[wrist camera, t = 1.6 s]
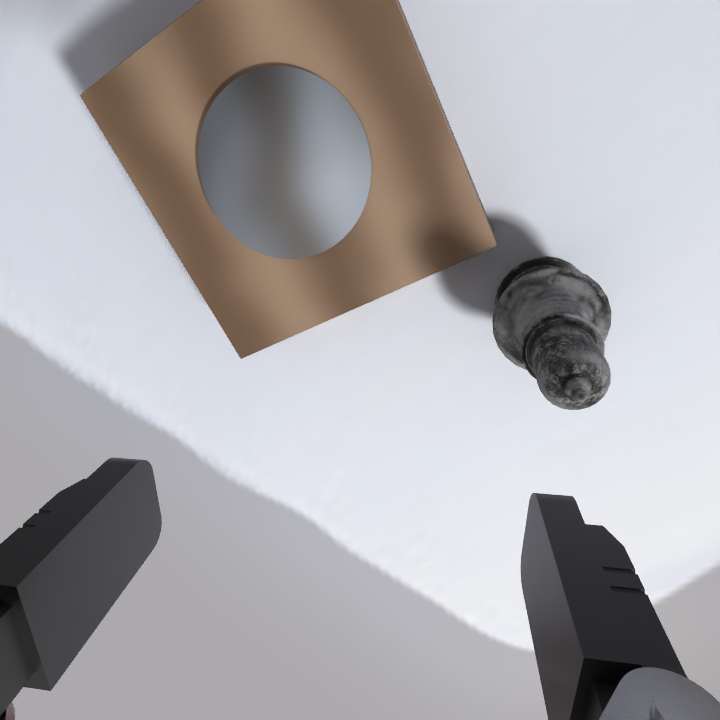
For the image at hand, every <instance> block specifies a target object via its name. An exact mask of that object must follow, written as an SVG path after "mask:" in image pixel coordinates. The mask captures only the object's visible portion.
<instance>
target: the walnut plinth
mask: <svg viewBox="0 0 720 720" xmlns="http://www.w3.org/2000/svg"><path fill="white" fill-rule="evenodd" d="M80 96H81V98H82V100H83V101H84V103H85V104H86V106H87V108H88V109H89V111H90V113H91V114H92V116H93V118H94V119H95V121H96V122H97V124H98V126H99V127H100V129H101V131H102V132H103V134H104V136H105V137H106V139H107V140H108V142H109V144H110V145H111V147H112V149H113V150H114V152H115V154H116V155H117V157H118V158H119V160H120V162H121V163H122V165H123V167H124V168H125V170H126V172H127V173H128V175H129V176H130V178H131V180H132V181H133V183H134V185H135V186H136V188H137V190H138V191H139V193H140V194H141V196H142V198H143V199H144V201H145V203H146V204H147V206H148V208H149V209H150V211H151V212H152V214H153V216H154V217H155V219H156V221H157V222H158V224H159V226H160V227H161V229H162V230H163V232H164V234H165V235H166V237H167V239H168V240H169V242H170V244H171V245H172V247H173V248H174V250H175V252H176V253H177V255H178V257H179V258H180V260H181V262H182V263H183V265H184V266H185V268H186V270H187V271H188V273H189V275H190V276H191V278H192V280H193V281H194V283H195V284H196V286H197V288H198V289H199V291H200V293H201V294H202V296H203V298H204V299H205V301H206V302H207V304H208V306H209V307H210V309H211V311H212V312H213V314H214V316H215V317H216V319H217V320H218V322H219V324H220V325H221V327H222V329H223V330H224V332H225V334H226V335H227V337H228V338H229V340H230V342H231V343H232V345H233V347H234V348H235V350H236V352H237V353H238V355H239V356H240V358H241V359H242V358H244V357H246V356H249V355H251V354H253V353H255V352H258V351H260V350H262V349H264V348H267V347H269V346H271V345H273V344H276V343H278V342H280V341H283V340H285V339H287V338H289V337H292V336H294V335H296V334H298V333H301V332H303V331H305V330H307V329H310V328H312V327H314V326H316V325H319V324H321V323H323V322H326V321H328V320H330V319H332V318H335V317H337V316H339V315H341V314H344V313H346V312H348V311H350V310H353V309H355V308H357V307H359V306H362V305H364V304H366V303H369V302H371V301H373V300H375V299H378V298H380V297H382V296H384V295H387V294H389V293H391V292H393V291H396V290H398V289H400V288H402V287H405V286H407V285H409V284H412V283H414V282H416V281H418V280H421V279H423V278H425V277H427V276H430V275H432V274H434V273H436V272H439V271H441V270H443V269H445V268H448V267H450V266H452V265H455V264H457V263H459V262H461V261H464V260H466V259H468V258H470V257H473V256H475V255H477V254H479V253H482V252H484V251H486V250H489V249H491V248H493V247H495V246H497V245H496V241H495V237H494V232H493V229H492V227H491V225H490V222H489V220H488V217H487V215H486V212H485V210H484V208H483V205H482V203H481V200H480V198H479V195H478V193H477V190H476V188H475V186H474V183H473V181H472V178H471V176H470V173H469V171H468V168H467V166H466V164H465V161H464V159H463V156H462V154H461V151H460V149H459V147H458V144H457V142H456V139H455V137H454V134H453V132H452V129H451V127H450V125H449V122H448V120H447V117H446V115H445V112H444V110H443V108H442V105H441V103H440V100H439V98H438V95H437V93H436V90H435V88H434V86H433V83H432V81H431V78H430V76H429V73H428V71H427V68H426V66H425V64H424V61H423V59H422V56H421V54H420V51H419V49H418V47H417V44H416V42H415V39H414V37H413V34H412V32H411V29H410V27H409V25H408V22H407V20H406V17H405V15H404V12H403V10H402V7H401V5H400V3H399V0H201V1H200V2H199V3H198V4H196V5H195V6H194V7H192V8H191V9H190V10H189V11H187V12H186V13H185V14H184V15H182V16H181V17H180V18H178V19H177V20H176V21H175V22H173V23H172V24H171V25H169V26H168V27H167V28H166V29H164V30H163V31H162V32H160V33H159V34H158V35H157V36H155V37H154V38H153V39H151V40H150V41H149V42H148V43H146V44H145V45H144V46H142V47H141V48H140V49H139V50H137V51H136V52H135V53H133V54H132V55H131V56H130V57H128V58H127V59H126V60H124V61H123V62H122V63H121V64H119V65H118V66H117V67H115V68H114V69H113V70H112V71H110V72H109V73H108V74H106V75H105V76H104V77H103V78H101V79H100V80H99V81H97V82H96V83H95V84H94V85H92V86H91V87H90V88H88V89H87V90H86V91H85V92H83V93H82V94H81V95H80Z"/></svg>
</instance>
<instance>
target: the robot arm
mask: <svg viewBox="0 0 720 720" xmlns="http://www.w3.org/2000/svg"><path fill="white" fill-rule="evenodd" d="M161 523H162V521H161V513H160V507H159V502H158V497H157V491H156V485H155V480H154V475H153V470H152V466H151V464H150V463H149V462H148V461H146V460H136V459H123V458H110V459H108V460H107V461H106V462H104V463H103V464H102V465H101V466H100V467H99V468H98V469H97V470H96V471H95V472H94V473H92V474H91V475H90V476H89V477H88V478H87V479H83V480H81V481H79V482H77V483H75V484H73V485H72V486H70V487H68V488H66V489H64V490H62V491H61V492H59V493H58V494H56V495H55V496H54V497H53V498H52V499H51V500H50V501H49V502H47V503H46V504H45V505H44V506H43V507H42V508H41V509H40V510H39V513H35V514H34V515H33V516H32V517H31V518H30V519H28V520H27V521H26V522H25V523H24V524H23V527H22V528H18V529H17V530H16V531H15V532H14V533H13V534H11V535H10V536H9V537H8V538H7V539H6V540H5V541H3V542H2V543H1V544H0V720H15V709H14V706H13V703H12V701H13V699H14V698H15V697H16V695H17V694H18V693H19V692H20V690H21V689H22V688H23V687H28V688H35V689H42V690H48V691H51V690H52V688H53V687H54V686H55V684H56V683H57V682H58V680H59V679H60V678H61V676H62V675H63V673H64V672H65V671H66V669H67V668H68V666H69V665H70V664H71V662H72V661H73V660H74V658H75V657H76V655H77V654H78V652H79V651H80V650H81V648H82V647H83V646H84V644H85V643H86V641H87V640H88V639H89V637H90V636H91V635H92V633H93V632H94V630H95V629H96V628H97V626H98V625H99V623H100V622H101V621H102V619H103V618H104V617H105V615H106V614H107V612H108V611H109V610H110V608H111V607H112V605H113V604H114V603H115V601H116V600H117V599H118V597H119V596H120V594H121V593H122V591H123V590H124V589H125V588H126V586H127V585H128V583H129V582H130V581H131V579H132V578H133V577H134V575H135V574H136V572H137V571H138V569H139V568H140V567H141V565H142V564H143V563H144V561H145V560H146V558H147V557H148V556H149V554H150V553H151V552H152V550H153V549H154V547H155V545H156V544H157V541H158V539H159V535H160V532H161ZM521 582H522V589H523V594H524V599H525V604H526V609H527V614H528V619H529V624H530V629H531V634H532V639H533V644H534V649H535V654H536V659H537V665H538V670H539V674H540V680H541V684H542V690H543V694H544V700H545V705H546V710H547V715H548V720H720V703H719V702H718V701H717V700H716V699H715V698H714V697H713V696H712V695H711V694H710V693H708V692H707V691H706V690H705V689H703V688H702V687H701V686H699V685H698V684H696V683H695V682H693V681H691V680H689V679H688V678H687V676H686V674H685V672H684V670H683V668H682V666H681V664H680V662H679V660H678V658H677V656H676V654H675V652H674V650H673V648H672V645H671V643H670V641H669V639H668V637H667V635H666V633H665V631H664V629H663V627H662V625H661V622H660V620H659V618H658V616H657V614H656V612H655V610H654V608H653V606H652V604H651V602H650V600H649V597H648V595H645V589H644V587H643V585H642V583H641V581H640V579H639V577H638V575H637V574H635V568H634V566H633V564H632V562H631V560H630V558H629V556H628V554H627V552H626V550H625V548H624V546H623V545H622V544H621V543H620V542H619V541H618V540H617V539H616V538H615V537H614V536H613V535H612V534H611V533H610V532H609V531H608V530H607V529H606V528H604V527H603V526H598V525H587V524H585V523H584V520H583V518H582V515H581V513H580V510H579V508H578V506H577V503H576V501H575V499H574V497H572V496H563V495H550V494H538V493H533V494H532V495H531V497H530V501H529V507H528V514H527V521H526V527H525V534H524V541H523V548H522V555H521Z"/></svg>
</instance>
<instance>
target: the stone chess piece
mask: <svg viewBox="0 0 720 720" xmlns="http://www.w3.org/2000/svg"><path fill="white" fill-rule="evenodd" d="M495 303H496V307H495V311H494V315H493V334H494V337H495V340H496V342H497V345H498V347H499V348H500V350H501V351H502V353H503V354H504V355H505V357H506V358H508V359H509V360H510V361H512V362H513V363H514V364H515V365H517V366H519V367H521V368H524V369H526V370H528V372H529V373H530V374H531V375H532V376H533V377H534V378H536V379H537V383H538V386H539V389H540V391H541V392H542V394H543V395H544V396H545V398H546V399H547V400H548V401H550V402H551V403H552V404H553V405H556V406H558V407H560V408H563V409H568V410H580V409H584V408H588V407H590V406H592V405H594V404H596V403H597V402H598V401H599V400H601V399H602V398H603V397H604V395H605V394H606V392H607V391H608V388H609V385H610V368H609V365H608V363H607V361H606V359H605V357H604V341H605V340H606V337H607V335H608V332H609V329H610V326H611V309H610V305H609V301H608V298H607V296H606V294H605V293H604V291H603V290H602V288H601V287H600V285H599V284H598V283H596V282H595V281H594V280H593V279H591V278H590V277H589V276H588V275H586V274H584V273H581V272H580V271H579V270H578V269H577V268H575V267H574V266H573V265H572V264H570V263H567V262H565V261H563V260H561V259H555V258H548V257H547V258H538V259H533V260H530V261H527V262H524V263H522V264H521V265H519V266H517V267H516V268H514V269H513V270H512V271H511V272H510V273H509V274H508V275H507V276H506V277H505V278H504V279H503V281H502V283H501V285H500V287H499V289H498V292H497V296H496V300H495Z"/></svg>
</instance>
